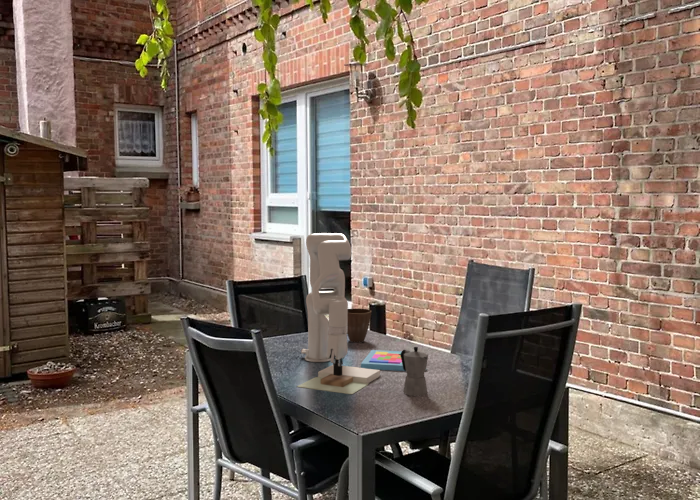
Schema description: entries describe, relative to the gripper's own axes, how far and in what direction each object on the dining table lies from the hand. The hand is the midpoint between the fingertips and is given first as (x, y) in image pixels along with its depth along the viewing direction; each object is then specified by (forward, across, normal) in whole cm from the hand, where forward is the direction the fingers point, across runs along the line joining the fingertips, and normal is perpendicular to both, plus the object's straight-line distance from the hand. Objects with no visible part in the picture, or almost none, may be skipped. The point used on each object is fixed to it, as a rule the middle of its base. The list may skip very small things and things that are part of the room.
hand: (337, 375), depth 282 cm
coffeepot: (+4, -1, +32) cm, 32 cm away
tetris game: (+4, -43, +9) cm, 44 cm away
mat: (+3, +4, 0) cm, 5 cm away
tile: (+3, +1, 0) cm, 3 cm away
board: (+3, -11, 0) cm, 11 cm away
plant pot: (+4, -78, -27) cm, 82 cm away
